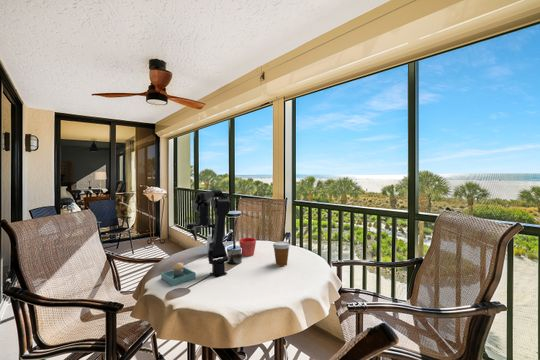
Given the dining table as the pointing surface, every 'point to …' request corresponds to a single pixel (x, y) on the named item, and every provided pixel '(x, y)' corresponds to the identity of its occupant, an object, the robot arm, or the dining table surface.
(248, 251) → the flower pot
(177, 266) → the battery cell
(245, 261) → the dining table surface
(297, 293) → the dining table surface
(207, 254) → the supplement box
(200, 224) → the robot arm
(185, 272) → the trough tray
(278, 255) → the disposable coffee cup
